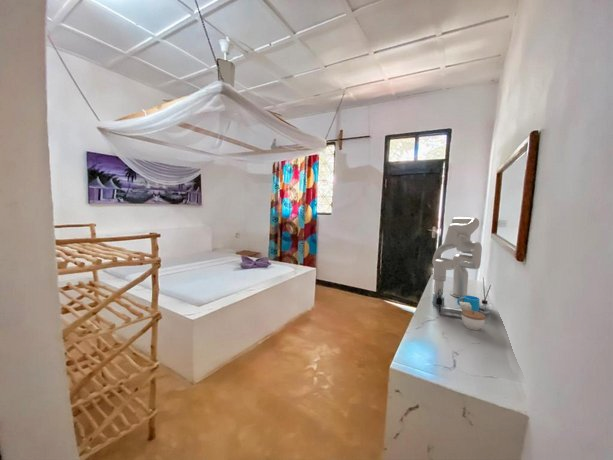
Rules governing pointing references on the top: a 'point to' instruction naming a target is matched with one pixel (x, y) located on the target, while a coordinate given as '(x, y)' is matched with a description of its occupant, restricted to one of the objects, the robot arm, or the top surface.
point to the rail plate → (450, 314)
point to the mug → (471, 302)
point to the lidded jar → (473, 319)
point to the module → (435, 300)
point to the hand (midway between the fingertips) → (438, 301)
